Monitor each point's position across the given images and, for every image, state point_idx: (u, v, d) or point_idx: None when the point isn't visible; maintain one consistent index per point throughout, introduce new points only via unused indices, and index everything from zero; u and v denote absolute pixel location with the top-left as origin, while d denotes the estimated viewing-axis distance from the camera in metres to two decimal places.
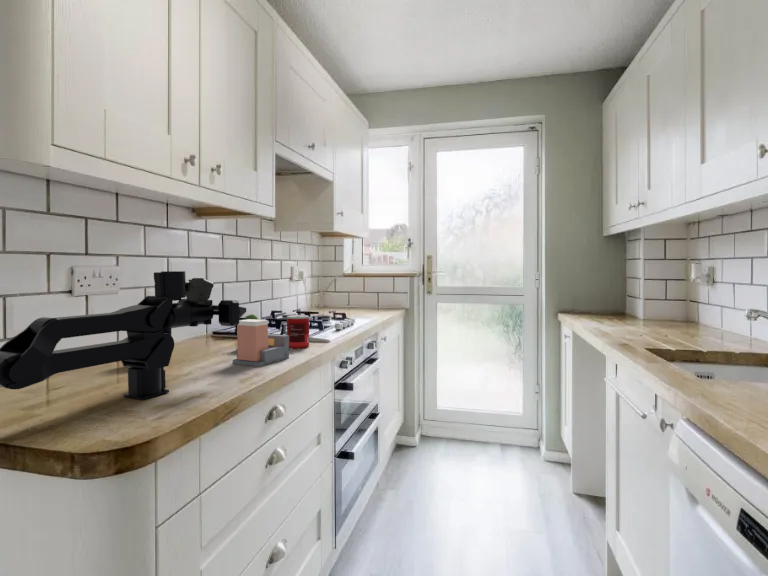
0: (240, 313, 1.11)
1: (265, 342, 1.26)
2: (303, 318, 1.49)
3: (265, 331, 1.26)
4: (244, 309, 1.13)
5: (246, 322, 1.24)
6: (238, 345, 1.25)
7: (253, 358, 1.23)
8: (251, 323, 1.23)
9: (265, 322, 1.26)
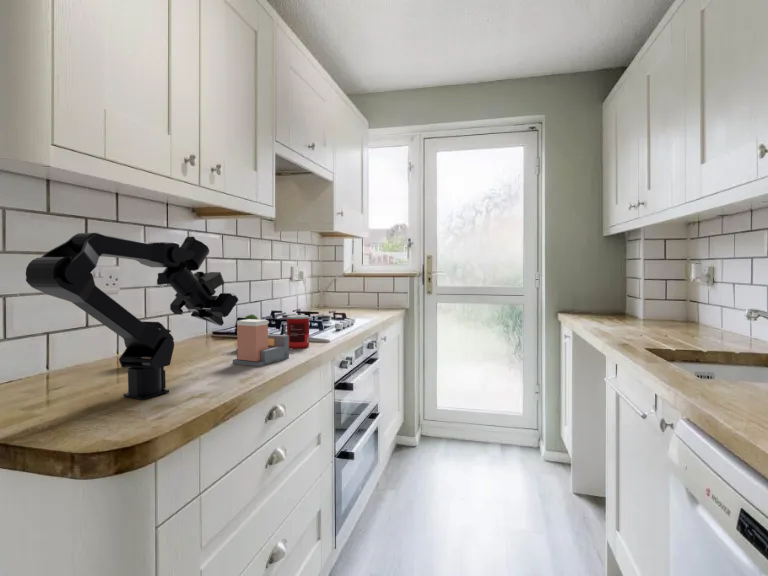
0: (217, 319, 1.12)
1: (265, 342, 1.26)
2: (303, 318, 1.49)
3: (265, 331, 1.26)
4: (221, 321, 1.14)
5: (246, 322, 1.24)
6: (238, 345, 1.25)
7: (253, 358, 1.23)
8: (251, 323, 1.23)
9: (265, 322, 1.26)
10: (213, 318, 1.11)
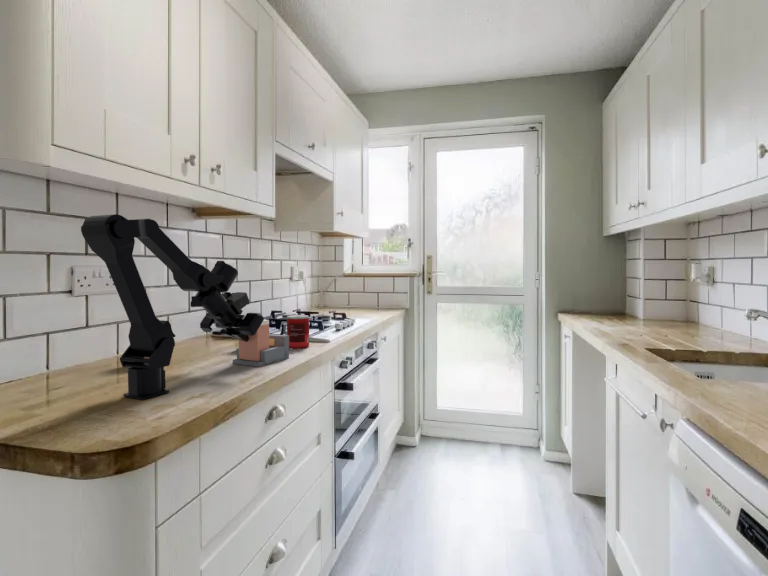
0: (243, 336, 1.21)
1: (266, 342, 1.26)
2: (303, 318, 1.49)
3: (266, 331, 1.26)
4: (247, 338, 1.23)
5: None
6: (240, 344, 1.26)
7: (255, 357, 1.23)
8: None
9: (266, 322, 1.26)
10: (240, 335, 1.19)
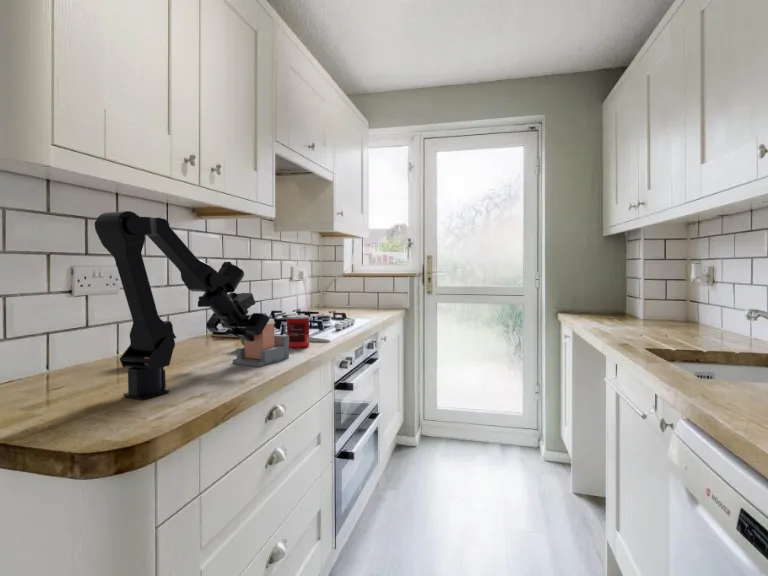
0: (249, 336, 1.23)
1: (271, 341, 1.28)
2: (303, 318, 1.49)
3: (271, 330, 1.28)
4: (252, 338, 1.25)
5: None
6: (245, 343, 1.28)
7: (260, 356, 1.25)
8: None
9: (271, 321, 1.28)
10: (246, 335, 1.21)
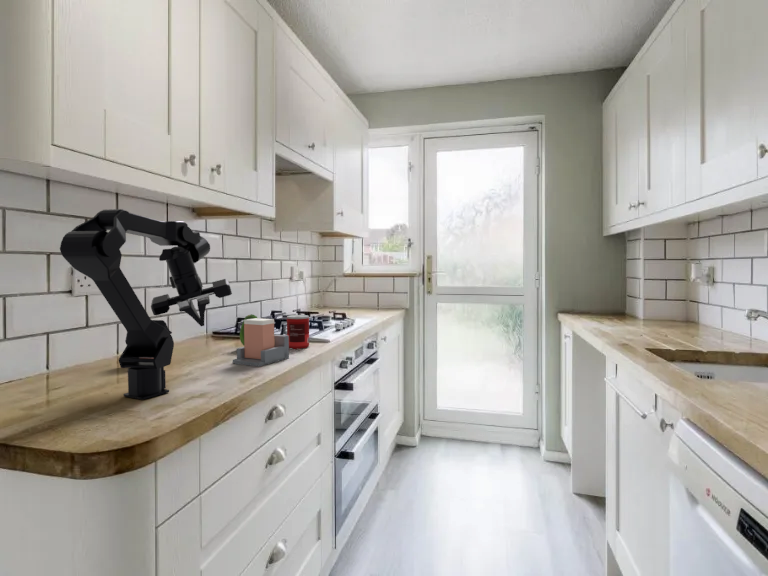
0: None
1: (271, 341, 1.28)
2: (303, 318, 1.49)
3: (271, 330, 1.28)
4: None
5: (253, 321, 1.26)
6: (245, 343, 1.28)
7: (260, 356, 1.25)
8: (258, 322, 1.25)
9: (271, 321, 1.28)
10: (204, 310, 1.11)
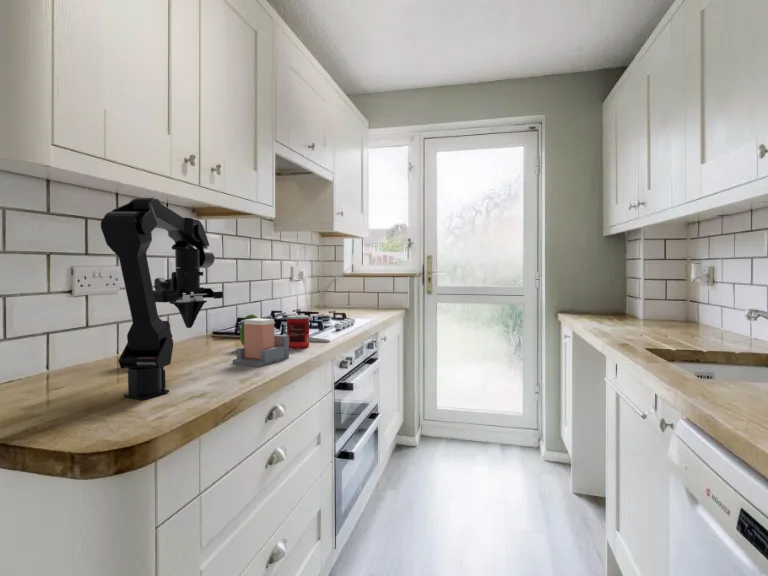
0: None
1: (271, 341, 1.28)
2: (303, 318, 1.49)
3: (271, 330, 1.28)
4: None
5: (253, 321, 1.26)
6: (245, 343, 1.28)
7: (260, 356, 1.25)
8: (258, 322, 1.25)
9: (271, 321, 1.28)
10: None
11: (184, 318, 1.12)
